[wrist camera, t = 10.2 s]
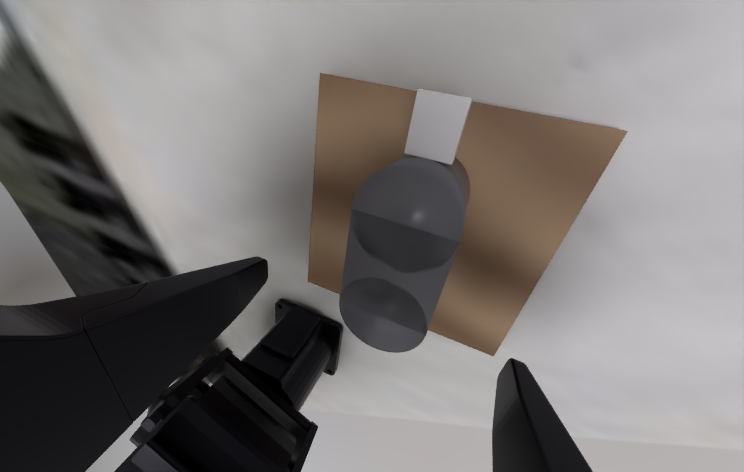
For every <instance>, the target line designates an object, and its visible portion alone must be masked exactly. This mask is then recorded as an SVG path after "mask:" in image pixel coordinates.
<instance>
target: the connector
mask: <svg viewBox="0 0 744 472" xmlns="http://www.w3.org/2000/svg"><path fill="white" fill-rule="evenodd" d="M472 100H473V98H469V97H464V96H458V95H452V94H447V93H441V92H436V91H430V90H424V89H419V88H418V90H417V95H416V99H415V104H414V109H413V113H412V118H411V123H410V128H409V132H408V137H407V142H406V146H405V151H404V153H406V155H404V156H403V157H401V158H399V159H398V160H396V161H395V162H393V163H391V164H390V165H388V166H387V167H385V168H383V169H382V170H380V171H379V172H377V173H375V174H374V175H372V176H371V177H370V178H368V179H367V180H366V181H365V182H364V183H363V184H362V185H361V187H360V188H359V190H358V191H357V193H356V195H355V198H354V201H353V204H352V210H351V217H350V225H349V232H348V240H347V248H346V255H345V263H344V270H343V278H342V285H341V293H340V301H339V307H340V312H341V316H342V318H343V320H344V322H345V324H346V325H347V327H348V328H349V329H350V331H351V332H352V333H353V334H354V335H355V336H356V337H357V338H359V339H360V340H361V341H363V342H364V343H366V344H368V345H369V346H371V347H373V348H376V349H379V350H382V351H387V352H405V351H409V350H411V349H414V348H415V347H417V346H418V345H419V344H420V343H421V342H422V341H423V339H424V338H425V335H426V333H427V330H428V327H429V325H430V322H431V319H432V317H433V314H434V311H435V309H436V306H437V303H438V301H439V298H440V295H441V293H442V290H443V287H444V285H445V282H446V279H447V276H448V274H449V271H450V268H451V266H452V263H453V260H454V258H455V255H456V252H457V250H458V247H459V244H460V241H461V238H462V234H463V229H464V223H465V217H466V212H467V206H468V201H469V195H470V181H469V177H468V174H467V171H466V169H465V168H464V166H463V165H462V163H461V162H460V161H459V160H458V159H457V158H456V157H455V156H456V153H457V149H458V146H459V143H460V139H461V136H462V133H463V130H464V126H465V123H466V120H467V117H468V113H469V110H470V107H471V104H472Z"/></svg>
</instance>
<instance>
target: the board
mask: <svg viewBox="0 0 744 472" xmlns="http://www.w3.org/2000/svg"><path fill="white" fill-rule="evenodd" d="M416 95H417V91H412V90H407V89H402V88H396V87H391V86H386V85H380V84H375V83H370V82H365V81H359V80H354V79H349V78H343V77H338V76H333V75H327V74H322V73H320V83H319V100H318V117H317V134H316V151H315V168H314V185H313V202H312V219H311V236H310V253H309V270H308V282H311V283H313V284H316V285H318V286H321V287H323V288H326V289H328V290H331V291H333V292H336V293H338V294H340V293H341V285H342V278H343V270H344V263H345V255H346V248H347V240H348V232H349V225H350V217H351V210H352V204H353V201H354V198H355V195H356V193H357V191H358V190H359V188H360V187H361V185H362V184H363V183H364V182H365V181H366V180H367V179H368V178H370V177H371V176H372V175H374V174H375V173H377V172H379V171H380V170H382V169H383V168H385V167H387V166H388V165H390V164H391V163H393V162H395V161H396V160H398V159H399V158H401V157H403V156H404V155H406V153H404V151H405V146H406V142H407V137H408V132H409V128H410V123H411V118H412V113H413V109H414V104H415V99H416ZM627 132H628V131H625V130H619V129H614V128H609V127H603V126H598V125H593V124H588V123H582V122H577V121H572V120H566V119H561V118H556V117H550V116H545V115H540V114H534V113H529V112H524V111H519V110H513V109H508V108H503V107H497V106H492V105H487V104H481V103H476V102H472V104H471V107H470V110H469V113H468V117H467V120H466V123H465V126H464V130H463V133H462V136H461V139H460V143H459V146H458V149H457V153H456V156H455V157H456V158H457V159H458V160H459V161H460V162H461V163H462V165H463V166H464V168H465V169H466V171H467V174H468V177H469V181H470V195H469V201H468V206H467V212H466V217H465V223H464V229H463V234H462V238H461V241H460V244H459V247H458V250H457V252H456V255H455V258H454V260H453V263H452V266H451V268H450V271H449V274H448V276H447V279H446V282H445V285H444V287H443V290H442V293H441V295H440V298H439V301H438V303H437V306H436V309H435V311H434V314H433V317H432V319H431V322H430V325H429V327H428V330H430V331H432V332H435V333H437V334H439V335H442V336H444V337H447V338H449V339H452V340H454V341H457V342H459V343H462V344H464V345H467V346H469V347H472V348H474V349H477V350H479V351H482V352H484V353H486V354H489V355H491V356H494V355H495V353H496V351H497V350H498V348H499V346H500V345H501V343H502V341H503V340H504V338H505V336H506V335H507V333H508V331H509V330H510V328H511V326H512V325H513V323H514V321H515V319H516V318H517V316H518V314H519V313H520V311H521V309H522V308H523V306H524V304H525V303H526V301H527V299H528V298H529V296H530V294H531V293H532V291H533V289H534V288H535V286H536V284H537V283H538V281H539V279H540V278H541V276H542V274H543V272H544V271H545V269H546V267H547V266H548V264H549V262H550V261H551V259H552V257H553V256H554V254H555V252H556V251H557V249H558V247H559V246H560V244H561V242H562V241H563V239H564V237H565V236H566V234H567V232H568V231H569V229H570V227H571V225H572V224H573V222H574V220H575V219H576V217H577V215H578V214H579V212H580V210H581V209H582V207H583V205H584V204H585V202H586V200H587V199H588V197H589V195H590V194H591V192H592V190H593V189H594V187H595V185H596V184H597V182H598V180H599V179H600V177H601V175H602V173H603V172H604V170H605V168H606V167H607V165H608V163H609V162H610V160H611V158H612V157H613V155H614V153H615V152H616V150H617V148H618V147H619V145H620V143H621V142H622V140H623V138H624V137H625V135H626V133H627Z"/></svg>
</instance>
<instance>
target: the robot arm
mask: <svg viewBox="0 0 744 472" xmlns="http://www.w3.org/2000/svg"><path fill="white" fill-rule="evenodd" d="M267 279H268V263H267V260H265V259H263V258H261V257H252V258H247V259H243V260H239V261H235V262H230V263H226V264H222V265H218V266H213V267H209V268H205V269H200V270H196V271H192V272H188V273H183V274H179V275H175V276H170V277H166V278H162V279H158V280H153V281H150V282H149V283H148V282H145V283H140V284H136V285H132V286H127V287H123V288H118V289H114V290H108V291H103V292H98V293H93V294H88V295H82V296H77V297H71V298H66V299H60V300H55V301H50V302H45V303H38V304H32V305H21V306H3V305H0V472H85V471H86V470H87V469H88V468H89V467H90V466H91V465H92V464H93V463H94V462H95V461H96V460H97V459H98V458H99V457H100V456H101V455H102V454H103V453H104V452H105V451H106V450H107V449H108V448H109V447H110V446H111V445H112V444H113V443H114V442H115V441H116V440H117V439H118V438H119V437H120V436H121V434H123V433H124V432H125V431H126V430H127V428H128V427H129V426H130V425H131V424H132V423H133V421H135V420H136V419H137V418H138V417H139V416H140V415H141V414H142V413H143V412H144V411H145V410H146V409H147V408H148V407H149V408H148V414H147V417H146V418H145V419H144V420H143V421H142V423H141V426H140V427H139V428H138V430H137V431H136V432H135V433H134V434H133V435H132V437H131V438H130V441H131V442H132V443H133V444H135V445H136V446H137V448H136V449H135V451H133V453H132V454H131V455H130V456H129V457H128V458H127V459H126V460H125V461H124V462H123V463H122V464H121V465H120V466H119V467H118V468H117V469H116V470H115V472H301V469H302V467H303V464H304V462H305V459H306V456H307V454H308V451H309V449H310V446H311V444H312V441H313V439H314V436H315V433H316V431H317V429H318V426H317V425H316V424H315V423H314V422H310V421H309V420H308V419H307V418H306V417H305V416H303V415H302V414H301V413H300V412H299V410H300V409H301V407H302V405H303V404H304V402H305V400H306V399H307V397H308V395H309V394H310V392H311V391H312V389H313V387H314V386H315V384H316V382H317V381H318V379H319V377H320V376H321V374H322V373H323V372H325V373H327V374H329V375H334V374H335V372H336V370H337V364H338V357H339V351H340V345H341V338H342V332H343V328H342V326H341V325H340V324H338V323H336V322H333V321H331V320H329V319H327V318H324V317H322V316H320V315H317V314H315V313H313V312H310V311H308V310H306V309H303V308H301V307H299V306H297V305H294V304H292V303H290V302H287V301H285V300H283V299H279V300H278V301H277V302H276V303H275V317H276V324H275V325H274V326H273V327H272V328H271V329H270V331H269V332H268V333H267V334H266V335H265V336H264V337H263V338H262V339H261V340H260V342H259V343H258V344H257V345H256V346H255V347H254V348H253V349H252V350H251V351H250V352H249V353H248V354H247V355H246V356H245V358H244V359H243V360H242V361H240V360H239V359H238V358H237V357H236V356H235V355H234V354H232V353H233V352H232V351H231V350H230V349H229V348H228V347H227V348H226V349H225V350H223V351H222V352H221V353H219V352H215V351H213V352H212V353H211V354H210V355H209V356H208V357H207V358H206V359H204V360H203V361H202V362H201V363H200V364H199V365H198V366H197V367H195V368H194V369H193V370H192V371H190V372H189V373H188V374H186V375H185V376H184V377H182V378H181V379H180V380H178V381H177V382H175V383H174V384H173V385H171V384H172V383H173V382H174V381H175V379H176V378H177V377H178V376H179V375H180V374H181V373H182V372H183V371H184V370H185V369H186V368H187V367H188V366H189V365H190V364H191V363H192V362H193V361H194V360H195V359H196V358H197V357H198V356H199V355H200V354H201V353H202V352H203V351H204V350H205V349H206V348H207V347H208V346H209V345H210V344H211V343H212V342H213V341H214V340H215V339H216V338H217V337H218V336H219V335H220V334H221V333H222V332H223V331H224V330H225V329H226V328H227V327H228V326H229V325H230V324H231V323H232V322H233V321H234V320H235V319H236V318H237V316H238V315H239V314H240V313H241V312H242V311H243V310H244V309H245V307H246V306H247V305H248V304H249V303H250V301H251V300H252V299H253V298H254V296H255V295H256V294H257V293H258V291H259V290H260V289H261V288H262V286H263V285H264V284H265V283H266V281H267ZM210 382H211V383H212V384H213V385H212V386H211V387H210V386H209V385H208V384H209V383H210ZM170 385H171V386H170ZM169 386H170V387H169ZM168 387H169V388H168ZM492 450H493V451H492V452H493V472H592V470H591V468H590V467H589V465H588V463H587V462H586V460H585V459H584V457H583V455H582V454H581V452H580V451H579V449H578V448H577V446H576V444H575V443H574V441H573V440H572V438H571V436H570V435H569V433H568V431H567V430H566V428H565V427H564V425H563V423H562V422H561V420H560V419H559V417H558V415H557V414H556V412H555V411H554V409H553V407H552V406H551V404H550V403H549V401H548V399H547V398H546V396H545V395H544V393H543V391H542V390H541V388H540V387H539V385H538V383H537V382H536V380H535V379H534V377H533V375H532V374H531V372H530V371H529V369H528V367H527V366H526V365H525V364H524V363H523V362H520V361H518V360H515V359H513V358H510V359H509V360H508V361H507V362H506V364H505V366H504V367H503V369H502V370H501V372H500V373H499V376H498V379H497V388H496V398H495V408H494V418H493V430H492Z"/></svg>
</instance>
